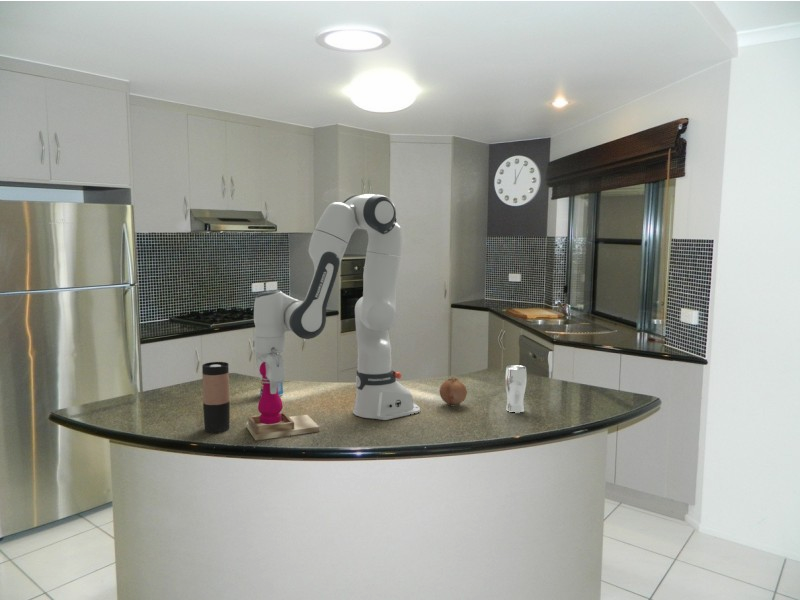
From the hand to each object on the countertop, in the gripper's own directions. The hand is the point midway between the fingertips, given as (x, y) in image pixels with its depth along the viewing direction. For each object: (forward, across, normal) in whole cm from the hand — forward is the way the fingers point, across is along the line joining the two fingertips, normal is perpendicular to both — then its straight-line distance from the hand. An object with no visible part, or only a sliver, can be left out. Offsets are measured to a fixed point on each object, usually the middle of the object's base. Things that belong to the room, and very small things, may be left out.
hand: (270, 390), depth 174 cm
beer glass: (+12, -14, -80) cm, 82 cm away
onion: (+12, 0, -64) cm, 65 cm away
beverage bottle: (+13, +39, -10) cm, 42 cm away
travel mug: (+12, +8, +14) cm, 21 cm away
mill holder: (+12, 0, -4) cm, 13 cm away
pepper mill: (+10, 0, 0) cm, 10 cm away
